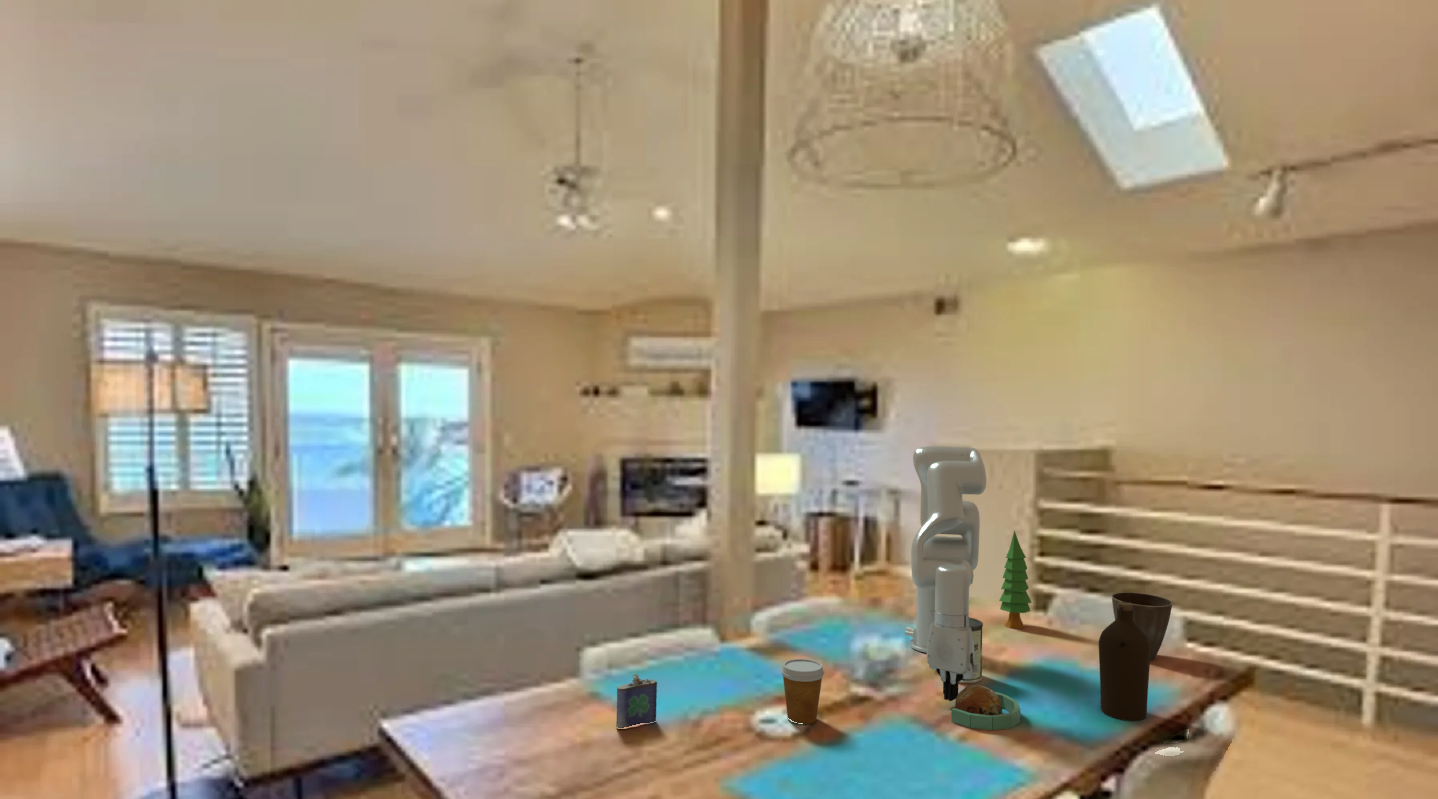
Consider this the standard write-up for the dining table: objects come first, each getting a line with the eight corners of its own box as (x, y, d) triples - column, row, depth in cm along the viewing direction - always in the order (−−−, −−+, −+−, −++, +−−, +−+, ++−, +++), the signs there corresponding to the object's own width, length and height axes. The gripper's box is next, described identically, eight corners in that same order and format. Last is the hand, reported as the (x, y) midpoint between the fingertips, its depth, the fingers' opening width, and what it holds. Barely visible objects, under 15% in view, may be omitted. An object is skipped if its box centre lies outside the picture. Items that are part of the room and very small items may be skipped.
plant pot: (1173, 654, 229) (1174, 597, 229) (1169, 669, 217) (1170, 608, 217) (1114, 645, 238) (1115, 589, 237) (1107, 658, 225) (1108, 600, 225)
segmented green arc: (951, 721, 180) (951, 709, 180) (987, 701, 192) (987, 689, 192) (997, 736, 173) (998, 723, 173) (1032, 714, 185) (1032, 702, 185)
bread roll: (997, 725, 188) (993, 688, 191) (1009, 722, 179) (1005, 683, 182) (953, 723, 188) (950, 687, 192) (963, 720, 179) (960, 682, 182)
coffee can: (951, 666, 217) (952, 613, 217) (989, 676, 210) (989, 621, 210) (932, 676, 209) (933, 621, 209) (970, 686, 202) (971, 629, 202)
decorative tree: (1000, 628, 253) (1001, 531, 252) (995, 620, 262) (996, 526, 262) (1033, 630, 251) (1035, 532, 251) (1027, 622, 260) (1028, 527, 260)
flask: (619, 731, 173) (619, 680, 173) (613, 726, 176) (614, 676, 176) (658, 723, 178) (659, 673, 178) (652, 718, 180) (653, 669, 180)
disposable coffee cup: (827, 714, 184) (828, 660, 184) (818, 730, 175) (819, 674, 175) (786, 708, 187) (786, 656, 187) (775, 724, 178) (775, 669, 178)
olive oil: (1159, 722, 181) (1160, 609, 181) (1110, 722, 181) (1112, 609, 181) (1135, 704, 192) (1136, 597, 191) (1089, 703, 192) (1091, 597, 192)
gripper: (914, 616, 192) (913, 694, 192) (974, 629, 181) (972, 712, 182) (931, 610, 197) (930, 686, 197) (989, 623, 187) (988, 703, 187)
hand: (950, 698), depth 190 cm, fingers closed
